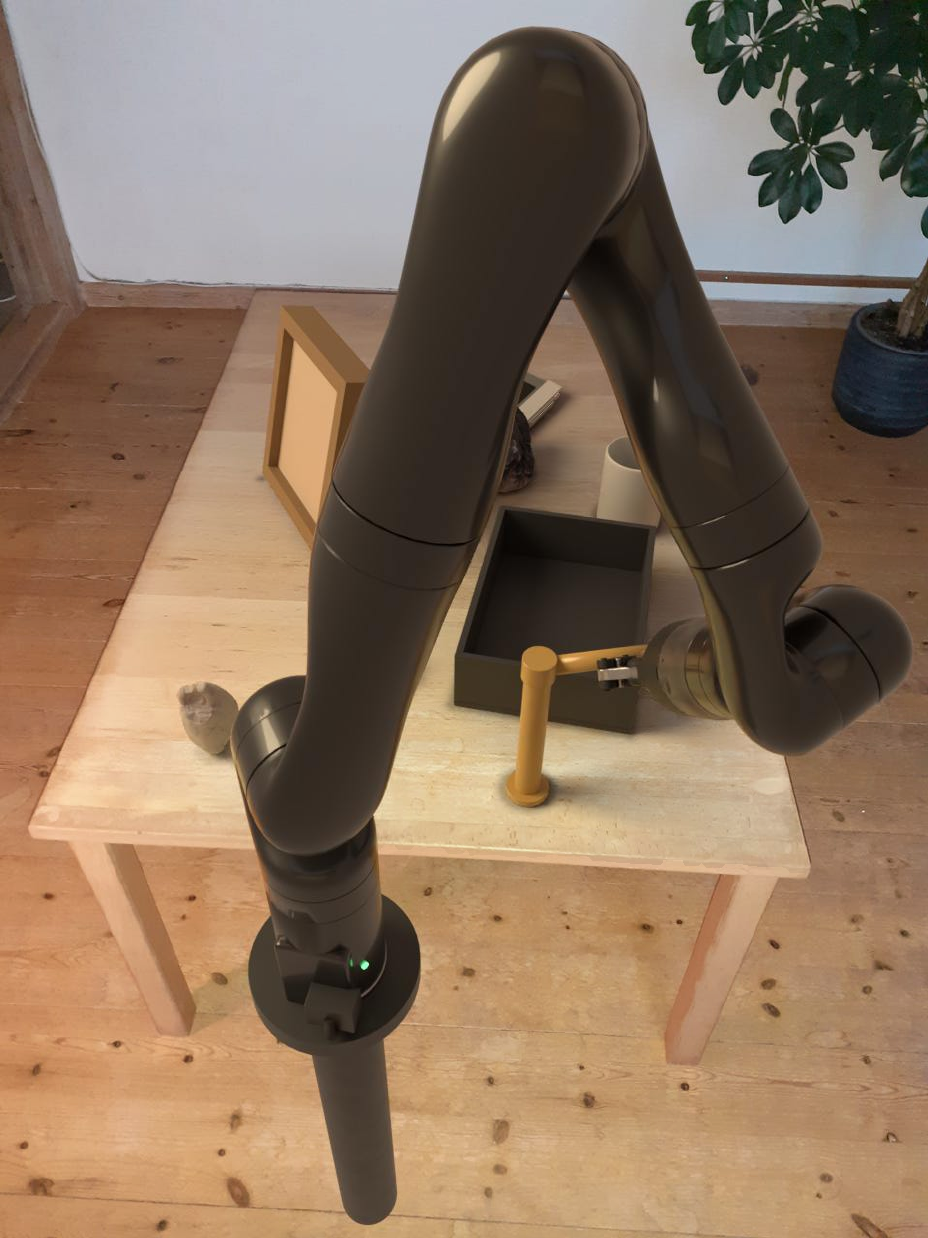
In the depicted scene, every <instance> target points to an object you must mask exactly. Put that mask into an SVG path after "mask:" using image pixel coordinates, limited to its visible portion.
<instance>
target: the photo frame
mask: <svg viewBox="0 0 928 1238" xmlns="http://www.w3.org/2000/svg"><path fill="white" fill-rule="evenodd" d="M278 320H279V321H278V329H277V337H276V348H275V357H274V364H273V374H272V382H271V391H270V399H269V408H268V409H269V410H268V417H267V427H266V434H265V435H266V436H265V443H264V444H265V445H264V451H263V453H264V454H263V462H262V469H261V473H262V475H263V477H264V478H265V480H266V482H267V483H268V484H269V486H270V488H271V489H272V491H273V493H274V494H275V496H276V498H277V499H278V500H279V502H280V503H281V506H282V507H283V509H284V510H285V512H286V513H287V514H288V516H289V518H290V519H291V521H292V523H293V524H294V526H295V527H296V529H297V530H298V532H299V534H300V535H301V537H302V539H303V540H304V541H305V543H306V544H307V546H308V547H309V549H310V550H311V548H312V542H313V537H314V533H315V528H316V525H317V521H318V518H319V515H320V512H321V508H322V505H323V502H324V499H325V496H326V492H327V489H328V486H329V483H330V480H331V477H332V473H333V470H334V467H335V464H336V461H337V459H338V456H339V453H340V451H341V448H342V445H343V443H344V440H345V437H346V434H347V432H348V429H349V426H350V423H351V420H352V417H353V414H354V411H355V409H356V406H357V403H358V400H359V397H360V395H361V392H362V389H363V386H364V384H365V381H366V379H367V376H368V374H369V371H370V368H369V367H368V366H367V365H366V364H365V362H363V361H362V360H361V358H360V357H359V356H358V355H357V354H356V353H355V351H354V350H353V349H352V348H351V347H350V346H349V345H348V344H347V342H346V341H344V339H343V338H342V337H341V336H340V335H339V333H338V332H337V331H336V330H335V329H334V328H333V327H332V326H331V325H330V323H329V322H327V320H326V319H325V318H324V317H323V316H322V314H321V313H320V312H319V311H318V310H317V309H316V308H315V307H314V305H313V306H312V305H290V304H289V305H285V304H281V305H280V312H279V319H278Z"/></svg>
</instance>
